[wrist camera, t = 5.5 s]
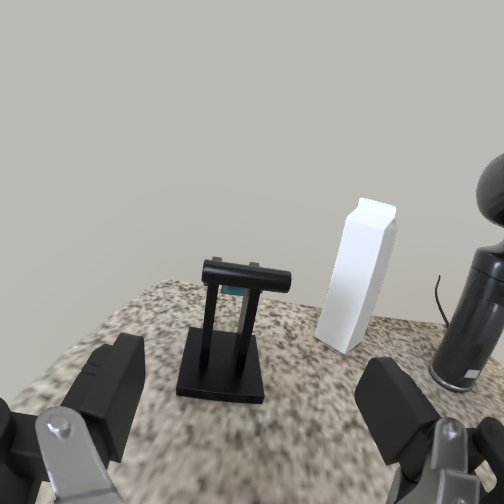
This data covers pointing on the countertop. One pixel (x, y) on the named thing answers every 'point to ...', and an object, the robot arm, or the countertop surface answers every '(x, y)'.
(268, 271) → the lever
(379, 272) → the milk
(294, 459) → the countertop surface
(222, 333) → the bracket
